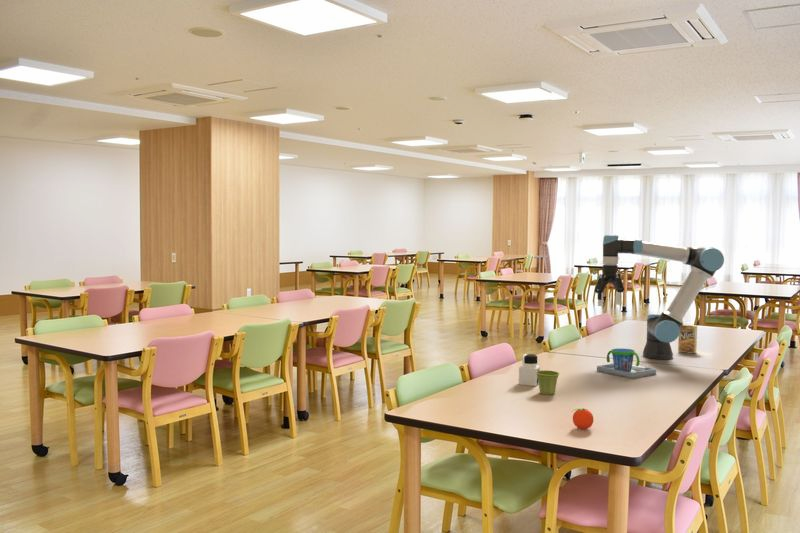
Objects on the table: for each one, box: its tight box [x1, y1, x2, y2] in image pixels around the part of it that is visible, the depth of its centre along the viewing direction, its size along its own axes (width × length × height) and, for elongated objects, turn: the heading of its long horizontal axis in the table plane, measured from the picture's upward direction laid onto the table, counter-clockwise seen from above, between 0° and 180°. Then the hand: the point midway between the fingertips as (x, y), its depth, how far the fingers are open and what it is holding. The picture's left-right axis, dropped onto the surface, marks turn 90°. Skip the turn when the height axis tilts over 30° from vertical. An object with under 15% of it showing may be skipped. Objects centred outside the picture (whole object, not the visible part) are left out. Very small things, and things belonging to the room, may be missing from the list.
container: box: [518, 353, 541, 387], centre depth 301 cm, size 8×8×13 cm
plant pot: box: [536, 369, 560, 396], centre depth 284 cm, size 9×9×9 cm
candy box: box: [677, 324, 698, 354], centre depth 381 cm, size 9×4×15 cm, turn 51°
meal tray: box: [596, 362, 657, 380], centre depth 326 cm, size 18×20×3 cm
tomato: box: [572, 408, 594, 430], centre depth 233 cm, size 8×7×7 cm
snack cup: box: [606, 348, 640, 372], centre depth 323 cm, size 16×10×10 cm
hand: (609, 305), depth 356 cm, fingers open, 13 cm apart
